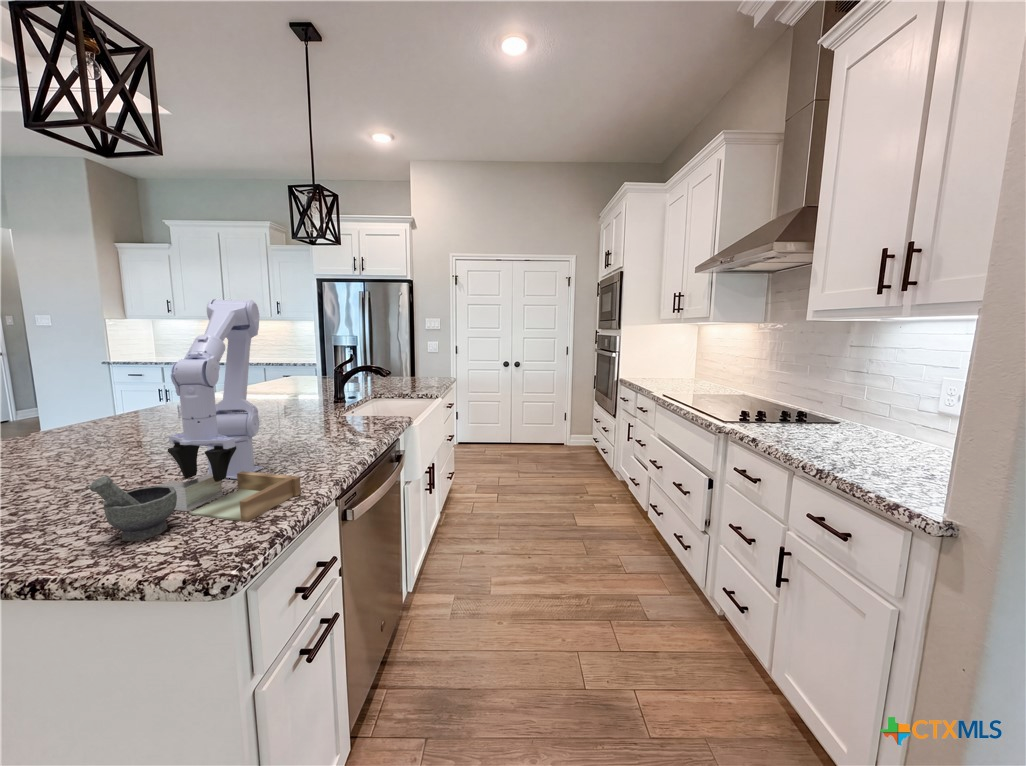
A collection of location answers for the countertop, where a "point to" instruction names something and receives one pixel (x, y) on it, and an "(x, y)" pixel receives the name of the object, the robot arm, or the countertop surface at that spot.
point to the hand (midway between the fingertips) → (205, 478)
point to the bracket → (195, 492)
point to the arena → (252, 496)
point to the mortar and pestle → (136, 508)
